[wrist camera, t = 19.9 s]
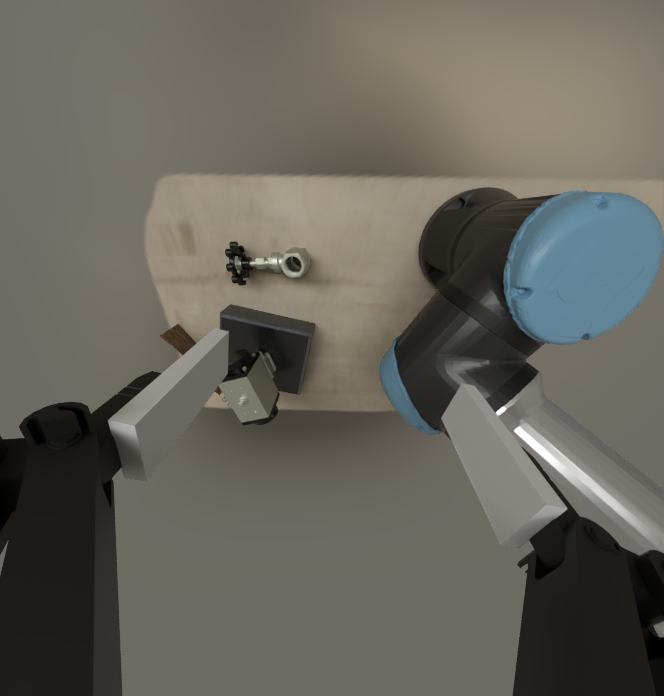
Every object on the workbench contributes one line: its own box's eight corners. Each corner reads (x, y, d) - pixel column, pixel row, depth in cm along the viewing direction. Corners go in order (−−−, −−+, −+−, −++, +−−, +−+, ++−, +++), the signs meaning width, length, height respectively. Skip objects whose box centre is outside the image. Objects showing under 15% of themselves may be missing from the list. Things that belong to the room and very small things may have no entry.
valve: (310, 236, 40) (238, 239, 41) (304, 240, 34) (220, 244, 35) (314, 278, 43) (246, 280, 44) (309, 287, 37) (231, 290, 38)
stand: (315, 323, 47) (311, 334, 42) (302, 381, 53) (299, 396, 49) (230, 304, 46) (218, 313, 41) (228, 366, 52) (218, 380, 48)
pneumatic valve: (263, 330, 42) (236, 369, 32) (288, 384, 48) (272, 432, 37) (235, 338, 43) (199, 378, 33) (262, 390, 49) (239, 438, 38)
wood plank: (173, 326, 49) (155, 337, 44) (180, 322, 48) (164, 333, 44) (223, 383, 55) (213, 398, 50) (230, 380, 54) (220, 394, 50)
